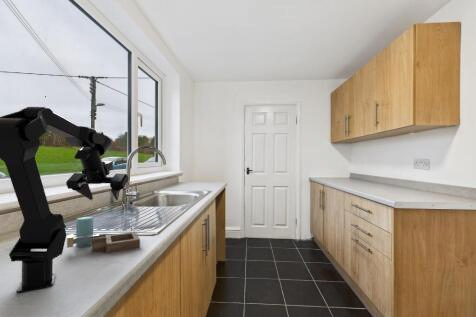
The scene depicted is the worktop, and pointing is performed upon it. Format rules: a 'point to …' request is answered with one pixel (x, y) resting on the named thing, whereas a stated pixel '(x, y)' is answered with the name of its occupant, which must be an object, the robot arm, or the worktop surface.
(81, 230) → the peg
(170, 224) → the worktop surface
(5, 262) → the worktop surface
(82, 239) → the lock bolt
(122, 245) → the dock
